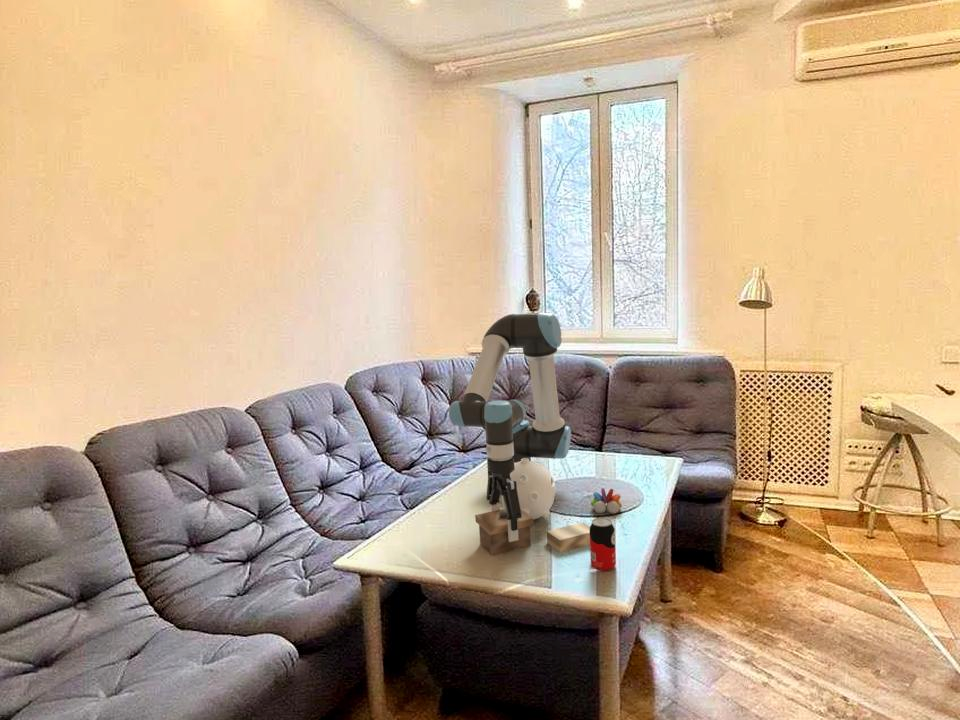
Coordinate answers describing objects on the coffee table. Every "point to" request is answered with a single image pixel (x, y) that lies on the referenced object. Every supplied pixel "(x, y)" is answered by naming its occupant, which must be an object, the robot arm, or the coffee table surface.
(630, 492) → the coffee table surface
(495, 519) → the lid
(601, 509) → the rainbow disc baby toy
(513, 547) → the box
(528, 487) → the decorative ball
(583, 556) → the coffee table surface
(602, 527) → the beverage can
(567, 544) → the light wooden block
